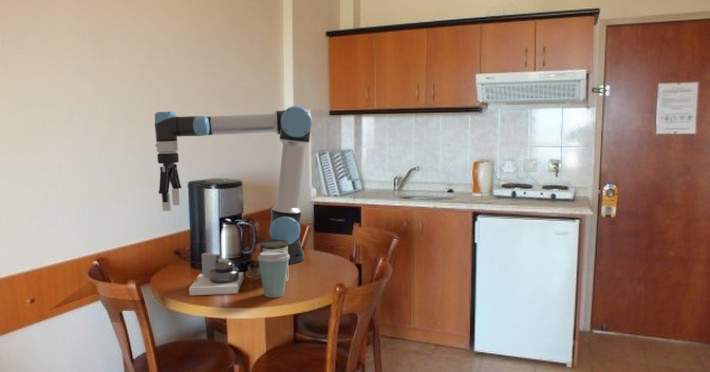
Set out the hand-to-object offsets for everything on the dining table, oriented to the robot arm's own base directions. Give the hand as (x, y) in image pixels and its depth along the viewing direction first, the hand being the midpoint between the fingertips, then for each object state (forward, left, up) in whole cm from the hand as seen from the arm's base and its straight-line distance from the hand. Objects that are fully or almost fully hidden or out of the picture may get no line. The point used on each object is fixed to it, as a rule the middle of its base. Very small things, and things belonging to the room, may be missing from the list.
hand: (171, 207), depth 194 cm
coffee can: (-39, +13, -26) cm, 49 cm away
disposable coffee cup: (-40, +30, -26) cm, 57 cm away
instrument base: (-19, +19, -26) cm, 37 cm away
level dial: (-20, +17, -23) cm, 35 cm away
